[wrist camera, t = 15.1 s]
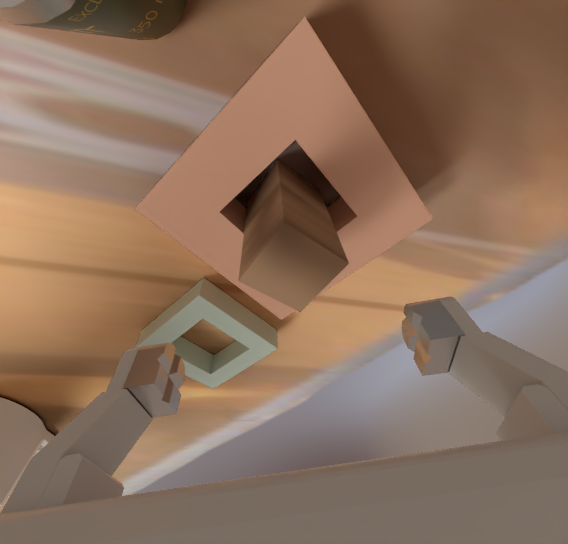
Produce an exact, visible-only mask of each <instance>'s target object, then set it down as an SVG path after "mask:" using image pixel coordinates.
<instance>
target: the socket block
mask: <svg viewBox="0 0 568 544" xmlns="http://www.w3.org/2000/svg"><path fill="white" fill-rule="evenodd" d="M295 140H296V141H297V142H298V144H299V145H300V146H301V147H302V149H303V150H304V151H305V152H306V154H307V155H308V156H309V157H310V158H311V160H312V161H313V162H314V163H315V165H316V166H317V167H318V168H319V170H320V171H321V172H322V173H323V174H324V176H325V177H326V178H327V179H328V181H329V182H330V183H331V184H332V186H333V187H334V188H335V189H336V190H337V192H338V193H339V194H340V195H341V197H340V198H339V199H338V200H336V201H335V202H334V203H332V204H331V205H330V206H329V207H327V210H328V212H329V215H330V217H331V220H332V222H333V225H334V227H335V230H336V232H337V235H338V237H339V240H340V242H341V245H342V247H343V250H344V252H345V254H346V257H347V259H348V262H349V264H348V265H347V266H346V267H345V268H344V269H343V270H342V271H341V272H340V273H339V274H338V275H337V276H336V277H335V278H334V279H333V280H332V281H331V282H330V283H329V284H328V285H327V286H326V287H325V288H324V289H323V290H322V291H321V292H320V293H319V294H318V295H320V294H321V293H323V292H324V291H326V290H327V289H329V288H330V287H332V286H333V285H335V284H336V283H338V282H339V281H341V280H342V279H344V278H345V277H347V276H348V275H350V274H351V273H353V272H354V271H356V270H357V269H359V268H360V267H362V266H363V265H365V264H366V263H368V262H369V261H371V260H372V259H374V258H375V257H377V256H378V255H380V254H381V253H383V252H384V251H386V250H387V249H389V248H390V247H392V246H393V245H395V244H396V243H398V242H399V241H401V240H402V239H404V238H405V237H407V236H408V235H410V234H411V233H413V232H414V231H416V230H417V229H419V228H420V227H422V226H423V225H425V224H426V223H428V222H429V221H431V220H432V219H433V218H432V217H431V215H430V213H429V212H428V210H427V209H426V207H425V205H424V204H423V202H422V201H421V199H420V198H419V196H418V194H417V193H416V191H415V190H414V188H413V187H412V185H411V183H410V182H409V180H408V179H407V177H406V175H405V174H404V172H403V171H402V169H401V168H400V166H399V164H398V163H397V161H396V160H395V158H394V157H393V155H392V153H391V152H390V150H389V149H388V147H387V146H386V144H385V142H384V141H383V139H382V138H381V136H380V134H379V133H378V131H377V130H376V128H375V127H374V125H373V123H372V122H371V120H370V119H369V117H368V116H367V114H366V112H365V111H364V109H363V108H362V106H361V104H360V103H359V101H358V100H357V98H356V97H355V95H354V93H353V92H352V90H351V89H350V87H349V86H348V84H347V82H346V81H345V79H344V78H343V76H342V74H341V73H340V71H339V70H338V68H337V67H336V65H335V63H334V62H333V60H332V59H331V57H330V56H329V54H328V52H327V51H326V49H325V48H324V46H323V44H322V43H321V41H320V40H319V38H318V37H317V35H316V33H315V32H314V30H313V29H312V27H311V26H310V24H309V22H308V21H307V19H306V18H305V17H304V18H303V19H302V20H301V21H300V22H299V23H298V24H297V25H296V26H295V27H294V28H293V29H292V30H291V32H290V33H289V34H288V35H287V36H286V37H285V38H284V40H283V41H282V42H281V43H280V44H279V45H278V46H277V47H276V49H275V50H274V51H273V52H272V53H271V54H270V55H269V57H268V58H267V59H266V60H265V61H264V62H263V63H262V64H261V66H260V67H259V68H258V69H257V70H256V71H255V72H254V74H253V75H252V76H251V77H250V78H249V79H248V80H247V81H246V83H245V84H244V85H243V86H242V87H241V88H240V89H239V90H238V92H237V93H236V94H235V95H234V96H233V97H232V98H231V100H230V101H229V102H228V103H227V104H226V105H225V106H224V107H223V109H222V110H221V111H220V112H219V113H218V114H217V115H216V117H215V118H214V119H213V120H212V121H211V122H210V123H209V124H208V126H207V127H206V128H205V129H204V130H203V131H202V132H201V134H200V135H199V136H198V137H197V138H196V139H195V140H194V141H193V143H192V144H191V145H190V146H189V147H188V148H187V149H186V151H185V152H184V153H183V154H182V155H181V156H180V157H179V158H178V160H177V161H176V162H175V163H174V164H173V165H172V166H171V167H170V169H169V170H168V171H167V172H166V173H165V174H164V175H163V177H162V178H161V179H160V180H159V181H158V182H157V183H156V184H155V186H154V187H153V188H152V189H151V190H150V191H149V193H148V194H147V195H146V196H145V197H144V199H143V200H142V201H141V202H140V203H139V204H138V206H137V207H136V208H135V210H136V211H137V212H139V213H140V214H141V215H143V216H144V217H145V218H147V219H148V220H149V221H151V222H152V223H153V224H155V225H156V226H157V227H159V228H160V229H161V230H163V231H164V232H165V233H167V234H168V235H169V236H171V237H172V238H173V239H175V240H176V241H177V242H179V243H180V244H181V245H183V246H184V247H185V248H187V249H188V250H189V251H190V252H192V253H193V254H194V255H196V256H197V257H198V258H200V259H201V260H202V261H204V262H205V263H206V264H208V265H209V266H210V267H212V268H213V269H214V270H216V271H217V272H218V273H220V274H221V275H222V276H224V277H225V278H226V279H228V280H229V281H230V282H232V283H233V284H234V285H236V286H237V287H238V288H240V289H241V290H242V291H244V292H245V293H246V294H248V295H249V296H250V297H251V298H253V299H254V300H255V301H257V302H258V303H259V304H261V305H262V306H263V307H265V308H266V309H267V310H269V311H270V312H271V313H273V314H274V315H275V316H277V317H278V318H279V319H281V320H282V319H284V318H285V317H287V316H288V315H290V314H291V313H293V312H294V311H296V310H295V309H293V308H291V307H289V306H287V305H285V304H283V303H281V302H279V301H277V300H275V299H273V298H271V297H269V296H267V295H265V294H263V293H261V292H259V291H257V290H255V289H253V288H251V287H249V286H247V285H245V284H243V283H241V282H239V281H238V279H239V271H240V262H241V254H242V245H243V237H244V228H245V220H246V211H247V209H246V208H245V207H244V206H243V205H242V204H241V203H240V202H239V201H238V200H237V199H235V198H234V197H235V196H237V195H238V194H239V193H240V192H241V191H242V190H243V189H244V188H245V187H246V186H247V185H248V184H249V183H250V182H251V181H252V180H253V179H255V178H256V177H257V176H258V175H259V174H260V173H261V172H262V171H263V170H264V169H265V168H266V167H267V166H268V165H269V164H270V163H271V162H272V161H274V160H275V159H276V158H277V157H278V156H279V155H280V154H281V153H282V152H283V151H284V150H285V149H286V148H287V147H288V146H289V145H290V144H291V143H293V142H294V141H295ZM318 295H317V296H318ZM317 296H316V297H317Z"/></svg>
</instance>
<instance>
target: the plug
mask: <svg viewBox="0 0 568 544" xmlns="http://www.w3.org/2000/svg"><path fill="white" fill-rule="evenodd" d="M348 264H349V262H348V259H347V257H346V254H345V252H344V250H343V247H342V245H341V242H340V240H339V237H338V235H337V232H336V230H335V227H334V225H333V222H332V220H331V217H330V215H329V212H328V210H327V208H326V205H325V203H324V200H323V198H322V195H321V193H320V190H319V189H318V188H316V187H315V186H313V185H312V184H311V183H309V182H308V181H307V180H305V179H304V178H303V177H301V176H300V175H298V174H297V173H296V172H294V171H293V170H292V169H290V168H289V167H287V166H286V165H285V164H283V163H282V162H281V161H279V160H278V159H277V160H276V161H275V163H274V164H273V166H272V167H271V169H270V170H269V171H268V173H267V174H266V176H265V177H264V179H263V180H262V182H261V183H260V185H259V186H258V188H257V189H256V190H255V192H254V193H253V195H252V196H251V198H250V199H249V201H248V203H247V211H246V220H245V228H244V237H243V245H242V254H241V262H240V271H239V279H238V281H239V282H241V283H243V284H245V285H247V286H249V287H251V288H253V289H255V290H257V291H259V292H261V293H263V294H265V295H267V296H269V297H271V298H273V299H275V300H277V301H279V302H281V303H283V304H285V305H287V306H289V307H291V308H293V309H295V310H297V311H299V312H301V311H302V310H303V309H304V308H305V307H306V306H307V305H308V304H309V303H310V302H311V301H312V300H313V299H314V298H315V297H316V296H317V295H318V294H319V293H320V292H321V291H322V290H323V289H324V288H325V287H326V286H327V285H328V284H329V283H330V282H331V281H332V280H333V279H334V278H335V277H336V276H337V275H338V274H339V273H340V272H341V271H342V270H343V269H344V268H345V267H346V266H347V265H348Z"/></svg>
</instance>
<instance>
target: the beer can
mask: <svg viewBox="0 0 568 544" xmlns="http://www.w3.org/2000/svg"><path fill="white" fill-rule="evenodd" d="M185 5H186V0H0V20H2V21H5V22H8V23H11V24H16V25H24V26H32V27H40V28H48V29H56V30H64V31H72V32H80V33H89V34H97V35H105V36H113V37H121V38H129V39H137V40H152V39H158V38H160V37H162V36H164V35H166V34H168V33H170V32H171V31H172V29H173V28H174V27H175V26H176V24H177V23H178V22H179V21H180V19H181V16H182V13H183V10H184V8H185Z"/></svg>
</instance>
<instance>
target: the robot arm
mask: <svg viewBox="0 0 568 544" xmlns="http://www.w3.org/2000/svg"><path fill="white" fill-rule="evenodd" d="M404 314H405V316H406V318H405V319H404V320H403V321H402V333H403V337H404V340H405V343H406V345H407V347H408V348H409V349H411V350H412V351H414V352H415V354H414V360H415V362H416V364H417V366H418V368H419V370H420V372H421V374H422V375H431V374H440V373H448V372H449V374H450V375H451V376H452V377H454V378H455V379H456V380H458V381H459V382H460V383H461V384H463V385H464V386H465V387H467V388H468V389H469V390H471V391H472V392H473V393H475V394H476V395H477V396H478V397H480V398H481V399H482V400H484V401H485V402H486V403H488V404H489V405H490V406H491V407H493V408H494V409H495V410H497V411H498V412H499V413H501V414H502V415H503V416H504V419H503V421H502V422H501V424H500V425H499V427H498V429H497V431H496V434H497V436H498V437H499V439H500V441H497V442H490V443H483V444H476V445H469V446H462V447H455V448H449V449H442V450H435V451H428V452H421V453H415V454H407V455H400V456H394V457H387V458H380V459H374V460H366V461H359V462H353V463H346V464H339V465H332V466H325V467H318V468H312V469H305V470H297V471H290V472H284V473H277V474H270V475H263V476H256V477H249V478H242V479H236V480H229V481H222V482H215V483H208V484H201V485H194V486H189V487H181V488H174V489H167V490H160V491H153V492H147V493H141V494H133V495H126V496H122V493H123V489H124V487H123V485H122V483H120V482H119V481H117V480H116V479H115V478H113V477H112V475H113V473H114V472H115V471H116V469H117V468H118V467H119V465H120V464H121V462H122V461H123V460H124V458H125V457H126V455H127V454H128V453H129V451H130V450H131V449H132V447H133V446H134V444H135V443H136V442H137V440H138V439H139V437H140V436H141V435H142V433H143V432H144V431H145V429H146V428H147V426H148V425H149V424H150V422H151V421H152V418H155V417H160V416H166V415H171V414H176V413H177V410H178V405H179V401H180V397H181V394H180V393H179V391H178V389H179V388H180V387H181V385H182V384H183V383H184V378H185V366H184V362H183V360H182V358H181V357H180V356H178V355H176V354H175V351H176V348H175V347H174V345H173V344H172V343H164V344H157V345H149V346H142V347H136V348H129V349H127V350H126V351H125V352H124V353H123V355H122V357H121V359H120V362H119V364H118V366H117V368H116V371H115V373H114V375H113V377H112V379H111V382H110V384H109V386H108V388H107V391H106V392H103V393H101V394H100V395H99V396H98V397H96V398H95V399H94V400H93V401H92V402H91V403H90V404H89V405H88V406H87V407H86V408H85V409H84V410H83V411H82V412H80V413H79V414H78V415H77V416H76V417H75V418H74V419H73V420H72V421H71V422H70V423H69V424H68V425H67V426H66V427H65V428H63V429H62V430H61V431H60V432H59V433H58V434H57V435H56V436H54V435H53V434H51V433H50V432H48V431H47V430H46V428H45V426H44V424H43V422H42V421H41V419H40V418H39V417H38V416H37V415H36V414H34V413H33V412H31V411H30V410H28V409H27V408H25V407H23V406H21V405H19V404H17V403H15V402H12V401H10V400H7V399H4V398H1V397H0V507H1V506H2V505H3V504H4V502H5V501H6V500H7V498H8V496H9V495H10V493H11V492H12V490H13V489H14V490H13V492H12V494H11V495H10V497H9V499H8V501H7V503H6V504H5V506H4V508H3V510H2V512H1V513H0V544H568V372H567V371H565V370H563V369H561V368H559V367H557V366H555V365H553V364H551V363H549V362H547V361H545V360H543V359H541V358H539V357H537V356H535V355H533V354H531V353H529V352H527V351H525V350H523V349H521V348H519V347H517V346H515V345H513V344H511V343H509V342H507V341H505V340H503V339H501V338H499V337H497V336H495V335H492V334H491V333H489V332H485V333H483V332H482V331H481V330H480V328H479V327H478V326H477V325H476V324H475V322H474V321H473V320H472V319H471V318H470V316H469V315H468V314H467V313H466V311H465V310H464V309H463V308H462V307H461V305H460V304H459V303H458V302H457V301H456V299H455V298H453V297H446V298H440V299H436V300H435V299H433V300H427V301H422V302H416V303H410V304H406V305H405V307H404ZM35 454H36V455H35ZM34 455H35V456H34ZM20 477H21V478H20ZM17 482H18V483H17ZM16 484H17V485H16ZM15 485H16V487H15ZM14 487H15V488H14Z"/></svg>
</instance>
